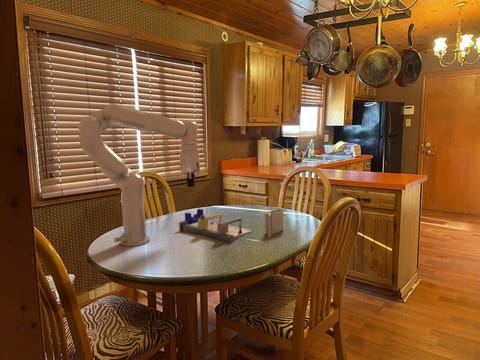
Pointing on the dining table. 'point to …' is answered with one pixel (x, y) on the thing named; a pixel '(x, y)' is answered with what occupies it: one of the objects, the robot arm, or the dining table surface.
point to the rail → (205, 232)
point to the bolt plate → (231, 229)
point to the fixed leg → (224, 225)
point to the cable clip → (195, 217)
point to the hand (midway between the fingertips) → (190, 186)
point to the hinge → (273, 221)
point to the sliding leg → (204, 220)
